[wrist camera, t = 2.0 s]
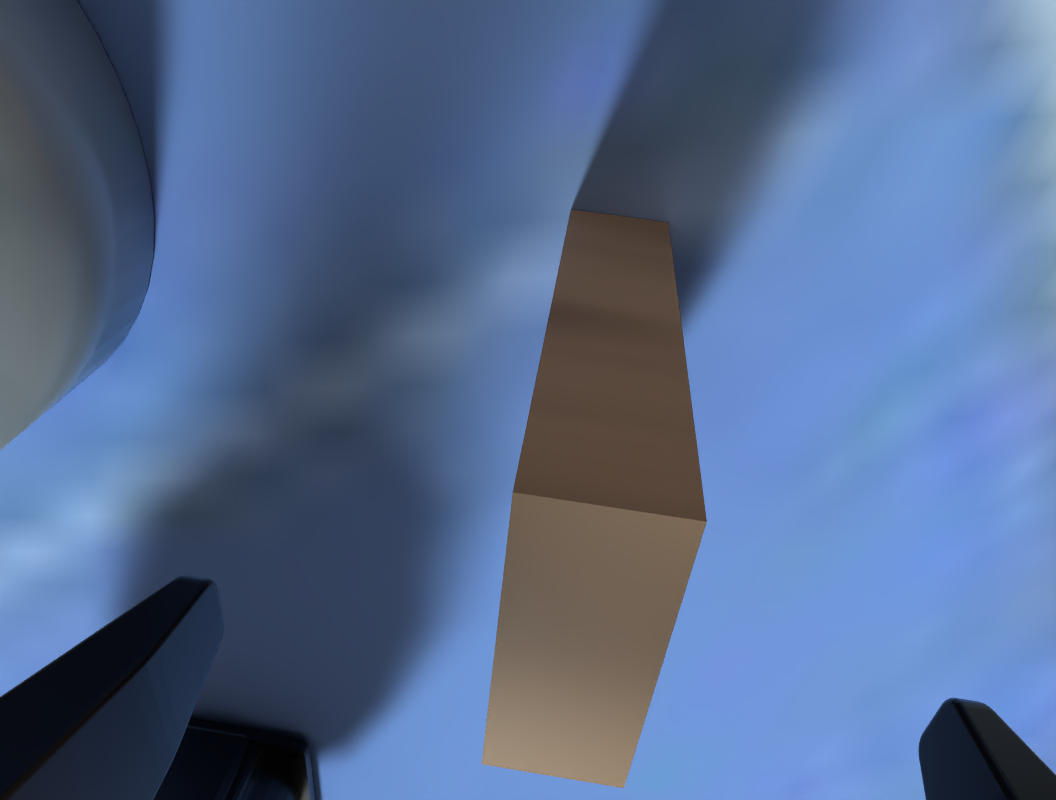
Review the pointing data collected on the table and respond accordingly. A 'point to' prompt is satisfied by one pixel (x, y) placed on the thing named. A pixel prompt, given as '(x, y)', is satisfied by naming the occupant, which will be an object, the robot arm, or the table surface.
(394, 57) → the table surface
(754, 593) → the table surface
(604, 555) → the tall brown wooden block
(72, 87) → the blue-grey bowl
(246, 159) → the table surface
